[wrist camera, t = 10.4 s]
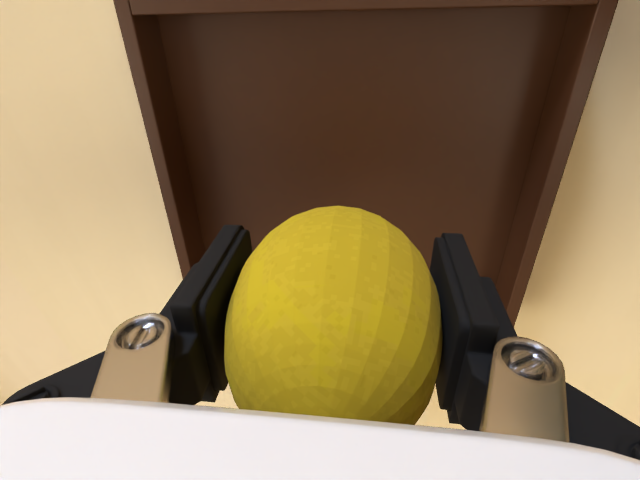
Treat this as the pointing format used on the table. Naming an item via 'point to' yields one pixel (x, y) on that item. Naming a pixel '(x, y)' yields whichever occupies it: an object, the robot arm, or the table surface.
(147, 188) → the table surface
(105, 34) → the table surface
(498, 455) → the robot arm
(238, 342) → the lemon
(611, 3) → the walnut tray
